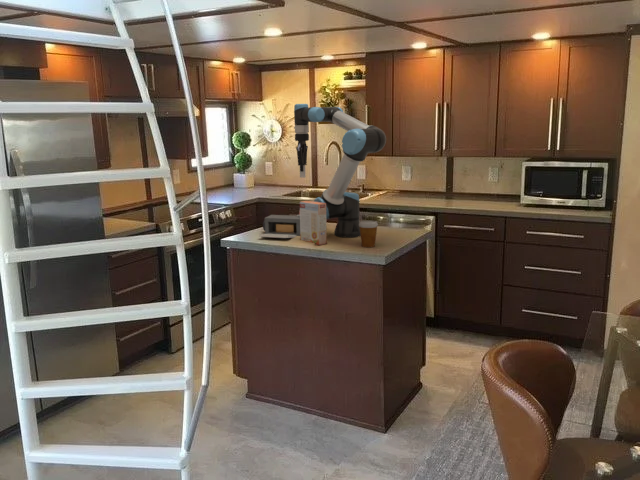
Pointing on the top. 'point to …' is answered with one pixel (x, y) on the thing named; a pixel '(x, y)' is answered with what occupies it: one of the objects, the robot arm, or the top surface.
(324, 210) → the cracker box
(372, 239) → the disposable coffee cup
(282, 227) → the block
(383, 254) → the top surface
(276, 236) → the side door
